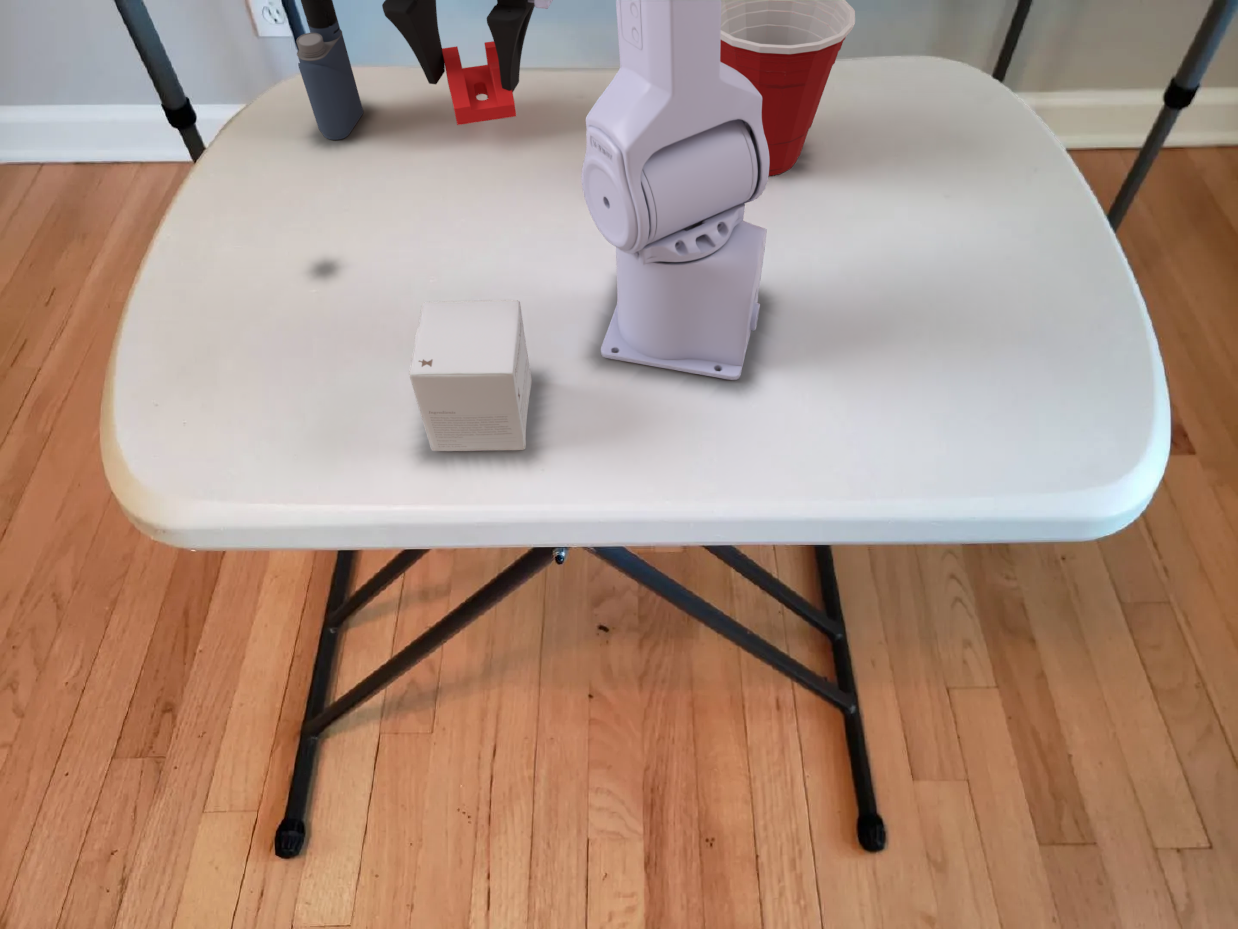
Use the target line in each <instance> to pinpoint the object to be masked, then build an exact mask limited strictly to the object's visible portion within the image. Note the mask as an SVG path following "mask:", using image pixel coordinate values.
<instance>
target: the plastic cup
mask: <svg viewBox="0 0 1238 929" xmlns="http://www.w3.org/2000/svg"><path fill="white" fill-rule="evenodd" d="M855 24H856V10H855V9H854V8H853V6H851V5H850V3H848V2H847V1H846V0H721V41H720V62H722V63H724V64H726V65H728V66H729V67H731V68H733V69H735V70H737V71H738V72H739V73H741V74H742V75H743V76H745V77H746V78H747V79H748V80H749V81H750V82H751V83H752V84H753V86H754V87H755V88H756V89H757V90H758V92H759V93H760V94H761V96H762V125H763V131H764V135H765V138H766V141H767V145H768V150H769V161H770V163H769V176H768V177H770V176H777V175H781V174H783V173H785V172H787V171H789V170H791V169H792V168H793V166H794V165H795V164H796V163H797V161H798V158H799V157H800V156H801V153H802V151H803V147H804V144H805V142H806V140H807V136H808V132H809V130H810V129H811V127H812V126H813V124H814V123H813V122H814V119H815V117H816V114H817V111H818V108H819V105H820V102H821V99H822V97H823V94H824V91H825V89H826V86H827V83H828V79H829V77H830V74H831V71H832V68H833V67H834V65H835V63H836V61H837V59H838V58H837V57H838V54H839V52H840V50H842V46H843V43H844V41H845V40H846V37H847V36H848V35H849V34H850V33H851V32H852V30H853V29H854V26H855Z"/></svg>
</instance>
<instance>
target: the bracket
mask: <svg viewBox="0 0 1238 929" xmlns="http://www.w3.org/2000/svg"><path fill="white" fill-rule="evenodd" d="M484 50H485V57H486V63H487V64H482V65H475V66H469V67H468V66H467V67H463V66H462V60H461V56H460V51H459V48H458V45H457V46H456V45H455V46H450V47H442V52H443V57H444V65H445V74H446V79H447V85H448V90H449V94H450V97H451V101H452V106H453V111H454V116H455V120H456V125H457V126H460V125H461V126H462V125H468V124H475V123H481V122H488V121H496V120H501V119H507V118H513V117H514V118H515V117H517V111H516V103H515V98H514V91H513V92H512V90H511V91H508V90H506V89H503V88H502V85H501V79H500V70H499V61H498V55H497V51H496V47H495V43H494V40H492V41H485V42H484ZM479 95H485V96H486V97H487V98H486V99H478V97H477V96H479Z"/></svg>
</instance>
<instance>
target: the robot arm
mask: <svg viewBox="0 0 1238 929" xmlns="http://www.w3.org/2000/svg"><path fill="white" fill-rule="evenodd" d="M553 1H554V0H496V4H495V5H494V6H493V7H492V9H491V10H490V12H489V14H488V15H487V16H486V24H487V26H488V29H489V32H490V33H491V34H490V35H491V37H492V41H494V43H495V47H496V51H497V55H498V61H499V70H500V79H501V85H502V88H503V89H506V90H508V91H511V90H512V92H513V93H514V91H515V90H516V89H517V87H518V84H519V83H520V70H521V62H522V54H523V47H524V43H525V38H526V34H527V32H528V31H527V30H528V28H529V24H530V22H531V18H532V15H533V12H534V9H535V8H537V9H545V10H548V9H549V8H550V6H551V5H552V3H553ZM381 6H382V12H383V15H384V16H385V18H386V19H387V20H389V22H390V23H392V25H393V26H394V28H396V29H397V30H398V32H399V33H400V34H401V35H402V37H403V38H404V40H405V41H406V43H407V44H408V46H409V47H410V49H411V51H412V52H413V54H414V56H415V58H416V60H417V61H418V63H419V65H420V67H421V70H422V72H423V73H424V76H425V78H426V80H427V81H428V84H429V85H437V84H438V83H439V81H440V80H441V78H442V77H443V75H444V74H445V73H446V69H445V64H444V57H443V52H442V48H443V46H442V41H441V37H440V36H441V35H440V31H439V24H438V12H437V11H438V10H437V0H384V1H383V2H382V5H381ZM615 7H616V9H615V10H616V22H617V23H616V25H617V37H618V38H617V39H618V53H619V55H618V56H619V69H618V71H617V72H616V74H615V75H614V77H613V78H612V80H611V81H610V83H609V84H608V85H607V87H606V88H605V89H604V91H603V92H601V94H600V96H599V97H598V99H597V100H596V101H595V103H594V104H593V106H592V107H591V109H590V110H589V112H588V113H587V115H586V117H585V127H586V131H585V134H586V144H585V145H586V147H585V155H584V158H583V163H582V168H581V176H580V177H581V187H582V193H583V197H584V200H585V204H586V207H587V210H588V212H589V214H590V217H591V219H592V221H593V222H594V225H595V226H596V228H597V230H598V231H599V232H600V235H602V237H603V238H604V239H605V240H606V241H607V242H608V243H609V244H610V245H611V246H614V247H615V261H616V264H615V265H616V296H617V297H616V298H617V303H616V305H615V308H614V311H613V313H612V317H611V319H610V322H609V325H608V328H607V330H606V333H605V336H604V339H603V341H602V344H601V347H600V355H601V356H602V357H603V358H605V359H611V360H616V361H621V362H628V363H632V364H633V363H634V364H639V365H644V366H651V367H656V368H662V369H667V370H673V371H679V372H684V373H689V374H695V375H701V376H707V377H711V378H718V379H723V380H730V381H736V380H739V379H740V378H741V375H742V371H743V367H744V362H745V358H746V354H747V350H748V346H749V341H750V337H751V333H752V332H753V331H754V332H755V331H756V329H757V326H758V320H759V315H760V309H761V304H760V303H759V292H760V286H761V278H762V270H763V263H764V256H765V249H766V242H767V228H765V227H762V226H759V225H755V224H752V223H751V222H748V221H745V220H744V217H745V210H746V208H745V207H746V204H748V203H750V202H754V201H755V200H757V199H759V198H760V196H762V195H763V194H764V192H765V190H766V187H767V185H768V181H769V177H770V176H769V163H770V161H769V150H768V145H767V141H766V138H765V135H764V131H763V125H762V96H761V94H760V93H759V92H758V90H757V89H756V88H755V87H754V86H753V84H752V83H751V82H750V81H749V80H748V79H747V78H746V77H745V76H743V75H742V74H741V73H739V72H738V71H737V70H735V69H733V68H731V67H729V66H728V65H726V64H724V63H722V62H720V41H721V0H615Z"/></svg>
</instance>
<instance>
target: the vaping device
mask: <svg viewBox="0 0 1238 929" xmlns="http://www.w3.org/2000/svg"><path fill="white" fill-rule="evenodd" d="M300 3H301V6H302V10H303V13H304V16H305V20H306V23H307V26H308V29H309V32H306V33H303V34H301V35H299V36H298V37H297V39H296V41H295V42H296V45H297V48H298V50H297V52H296V56H297V58H298V61H299V62H298V63H297V65H298V69H299V72H300V75H301V79H302V81H303V84H304V87H305V92H306V94H307V97H308V100H309V104H310V106H311V110H312V112H313V116H314V119H315V122H316V126H317V128H318V130H319V131H320V132H321V134H322V135H323V137H324V138H325V139H327V140H332V141H339V140H344V139H345V138H348V136H349V135H350V134H351V132H352V131H353V129H354V128H355V126H356V125H357V124H358V122H359V121H360V119H361V117H362V116H363V115H364V108H363V104H362V100H361V97H360V94H359V90H358V87H357V83H356V78H355V75H354V71H353V68H352V64H351V60H350V58H349V53H348V50H347V47H346V42H345V38H344V34H343V31H342V29H341V27H340V24H339V20H338V16H337V12H336V8H335V5H334V1H333V0H300Z"/></svg>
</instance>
